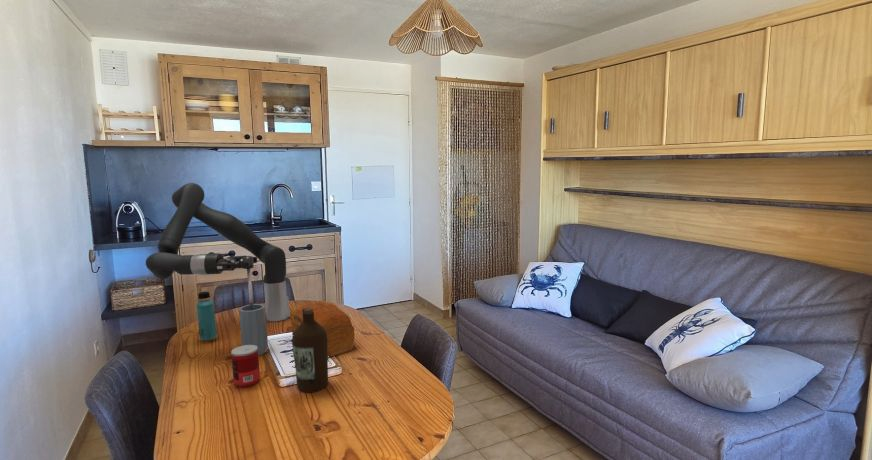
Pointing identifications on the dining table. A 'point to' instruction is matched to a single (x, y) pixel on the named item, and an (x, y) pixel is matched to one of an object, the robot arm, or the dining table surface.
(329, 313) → the bread
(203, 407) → the dining table surface
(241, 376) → the canned food
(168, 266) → the robot arm
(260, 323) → the grey utensil holder
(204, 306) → the beverage bottle
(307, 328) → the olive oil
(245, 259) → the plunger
